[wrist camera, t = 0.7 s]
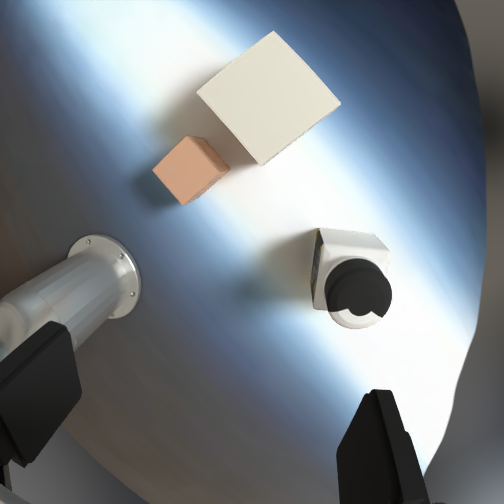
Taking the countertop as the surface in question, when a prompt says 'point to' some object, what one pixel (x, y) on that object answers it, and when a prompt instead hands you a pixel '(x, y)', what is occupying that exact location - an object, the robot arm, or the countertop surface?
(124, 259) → the robot arm
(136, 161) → the countertop surface
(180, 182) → the terracotta block
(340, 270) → the medicine bottle
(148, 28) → the countertop surface
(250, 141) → the cream block
